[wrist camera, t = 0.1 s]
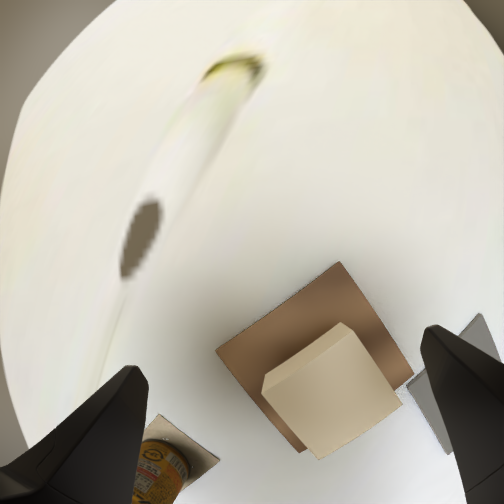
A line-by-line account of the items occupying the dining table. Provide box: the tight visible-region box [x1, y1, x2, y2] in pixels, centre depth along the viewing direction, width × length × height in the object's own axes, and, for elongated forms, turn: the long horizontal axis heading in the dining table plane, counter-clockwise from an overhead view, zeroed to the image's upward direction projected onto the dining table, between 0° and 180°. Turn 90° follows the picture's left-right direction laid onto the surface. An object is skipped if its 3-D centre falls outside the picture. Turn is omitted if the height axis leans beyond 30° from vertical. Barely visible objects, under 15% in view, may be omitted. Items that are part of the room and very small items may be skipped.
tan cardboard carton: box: [261, 322, 402, 460], centre depth 15 cm, size 6×6×4 cm
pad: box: [406, 313, 501, 455], centre depth 19 cm, size 12×10×1 cm
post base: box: [215, 261, 414, 453], centre depth 18 cm, size 12×12×7 cm
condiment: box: [132, 414, 220, 504], centre depth 16 cm, size 7×8×12 cm
